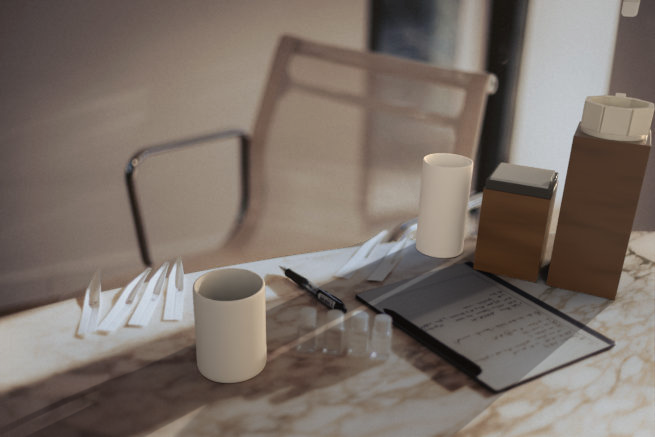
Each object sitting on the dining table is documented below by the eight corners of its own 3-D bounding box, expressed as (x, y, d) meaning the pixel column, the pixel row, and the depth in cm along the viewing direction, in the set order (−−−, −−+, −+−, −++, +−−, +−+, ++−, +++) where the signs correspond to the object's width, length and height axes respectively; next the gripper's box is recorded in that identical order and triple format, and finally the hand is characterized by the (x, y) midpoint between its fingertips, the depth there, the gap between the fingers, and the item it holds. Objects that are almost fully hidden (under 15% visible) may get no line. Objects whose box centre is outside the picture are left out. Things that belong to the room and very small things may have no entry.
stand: (486, 245, 110) (504, 112, 101) (617, 272, 102) (650, 129, 93) (472, 269, 102) (491, 125, 92) (614, 300, 93) (651, 146, 84)
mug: (277, 373, 75) (276, 293, 71) (207, 391, 72) (202, 309, 67) (245, 323, 85) (242, 251, 81) (182, 337, 82) (177, 262, 77)
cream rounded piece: (589, 106, 106) (594, 80, 105) (647, 112, 103) (653, 85, 101) (577, 135, 88) (583, 104, 86) (647, 144, 85) (655, 112, 83)
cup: (437, 262, 104) (447, 171, 97) (405, 244, 110) (412, 157, 104) (472, 251, 108) (484, 163, 102) (440, 234, 114) (449, 150, 108)
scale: (497, 170, 105) (499, 160, 104) (557, 180, 101) (559, 169, 100) (485, 188, 96) (486, 177, 96) (549, 199, 93) (551, 188, 92)
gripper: (690, -121, 63) (659, 21, 69) (679, -103, 80) (655, 9, 86) (622, -119, 66) (597, 18, 71) (625, -102, 83) (605, 7, 88)
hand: (629, 13), depth 79 cm, fingers open, 8 cm apart
